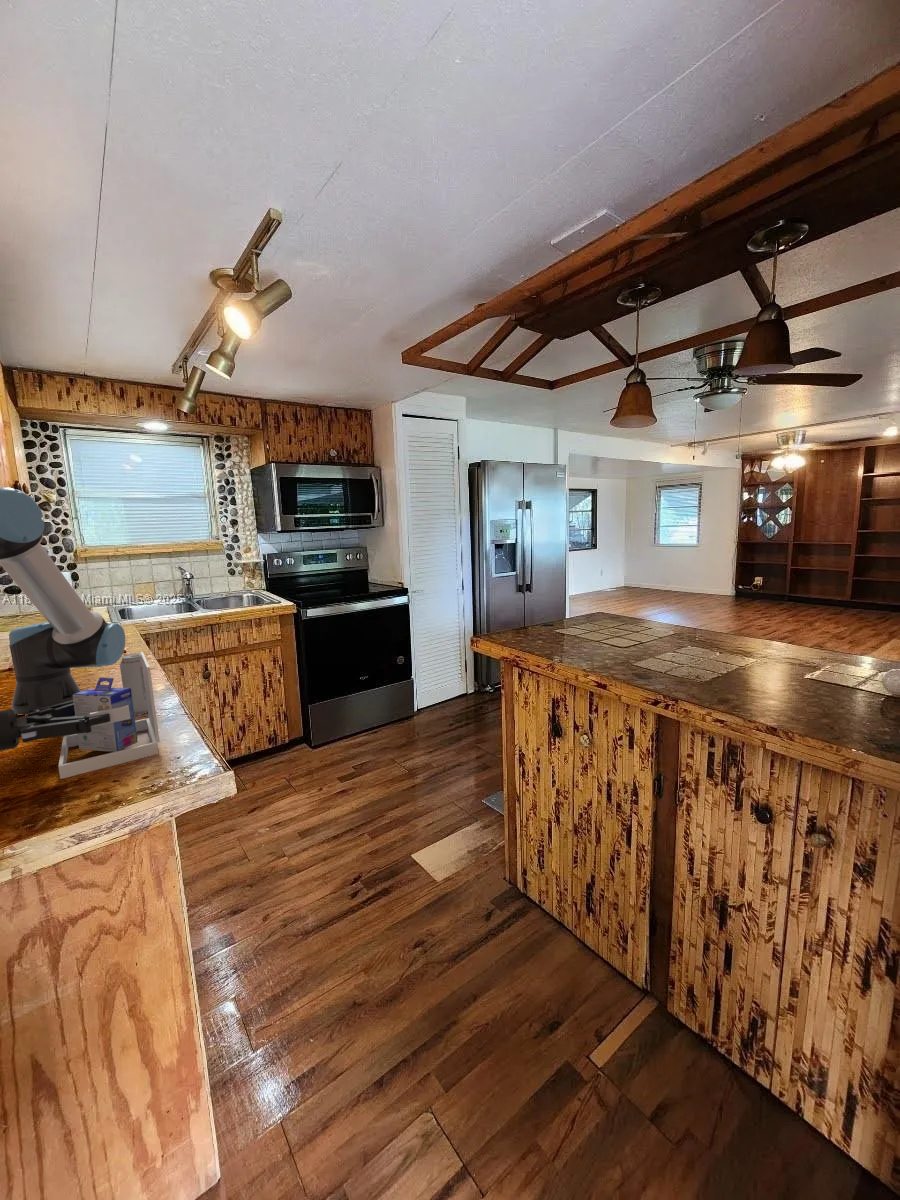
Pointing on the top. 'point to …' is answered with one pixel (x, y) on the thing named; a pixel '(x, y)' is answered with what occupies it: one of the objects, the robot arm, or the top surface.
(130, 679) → the energy drink can
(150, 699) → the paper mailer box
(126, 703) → the ink cartridge box
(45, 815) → the top surface
